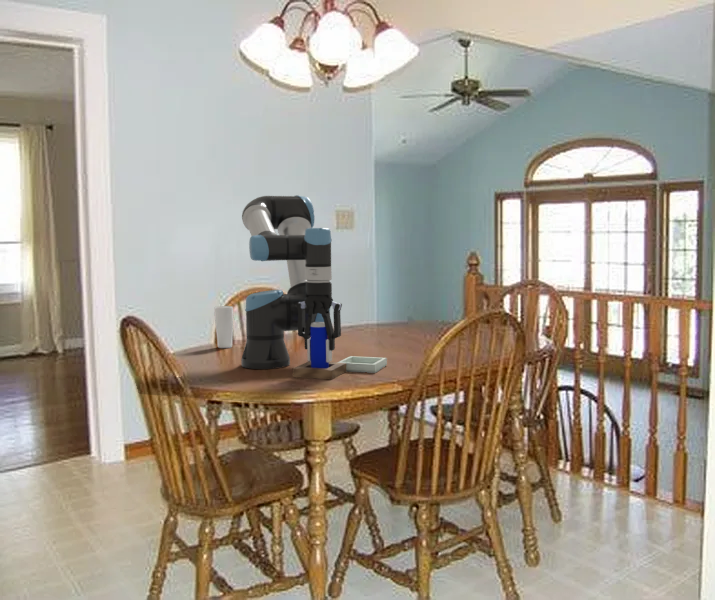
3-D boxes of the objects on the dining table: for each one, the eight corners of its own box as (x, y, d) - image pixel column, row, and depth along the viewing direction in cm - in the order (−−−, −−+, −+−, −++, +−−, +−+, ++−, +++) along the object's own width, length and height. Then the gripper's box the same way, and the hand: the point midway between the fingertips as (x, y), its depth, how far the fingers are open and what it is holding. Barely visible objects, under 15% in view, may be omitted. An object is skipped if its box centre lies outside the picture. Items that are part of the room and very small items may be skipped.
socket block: (292, 377, 200) (292, 368, 200) (309, 369, 211) (308, 361, 211) (331, 379, 196) (331, 370, 196) (346, 371, 207) (346, 363, 207)
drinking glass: (214, 346, 259) (213, 306, 257) (232, 345, 261) (231, 305, 259) (216, 349, 252) (215, 308, 251) (235, 348, 254) (234, 307, 253)
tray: (336, 370, 208) (336, 362, 208) (350, 364, 220) (350, 356, 219) (375, 373, 204) (375, 364, 204) (386, 365, 216) (386, 357, 215)
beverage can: (332, 373, 203) (331, 322, 202) (317, 376, 200) (316, 324, 199) (322, 371, 207) (321, 321, 206) (307, 373, 204) (307, 322, 203)
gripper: (284, 281, 201) (285, 361, 203) (343, 282, 195) (344, 364, 197) (295, 280, 208) (296, 357, 210) (352, 281, 202) (353, 360, 204)
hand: (319, 360), depth 203 cm, fingers closed on beverage can, 5 cm apart
